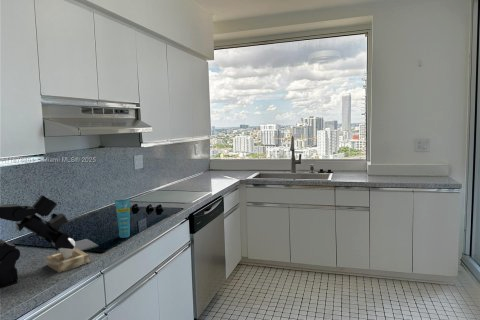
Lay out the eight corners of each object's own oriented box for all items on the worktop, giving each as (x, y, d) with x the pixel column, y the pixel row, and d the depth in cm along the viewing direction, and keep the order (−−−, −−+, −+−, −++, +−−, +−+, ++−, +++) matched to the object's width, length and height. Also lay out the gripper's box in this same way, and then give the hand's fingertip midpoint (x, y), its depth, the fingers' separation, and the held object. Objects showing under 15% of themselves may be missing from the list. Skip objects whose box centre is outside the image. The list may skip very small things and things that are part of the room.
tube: (118, 239, 171) (115, 201, 169) (116, 236, 175) (113, 199, 173) (133, 236, 174) (130, 199, 172) (131, 233, 178) (129, 197, 176)
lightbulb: (67, 268, 137) (65, 241, 136) (55, 266, 140) (53, 239, 139) (80, 261, 143) (78, 236, 142) (68, 260, 146) (66, 234, 144)
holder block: (58, 272, 133) (57, 264, 133) (47, 264, 141) (46, 256, 141) (89, 262, 142) (88, 254, 142) (77, 256, 150) (76, 248, 150)
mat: (66, 255, 151) (66, 253, 151) (56, 247, 161) (56, 246, 161) (98, 246, 161) (98, 245, 161) (86, 239, 171) (86, 238, 171)
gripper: (62, 212, 130) (93, 233, 139) (44, 205, 142) (74, 225, 152) (41, 238, 125) (74, 258, 134) (24, 228, 137) (56, 247, 147)
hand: (70, 246), depth 142 cm, fingers closed on lightbulb, 6 cm apart
